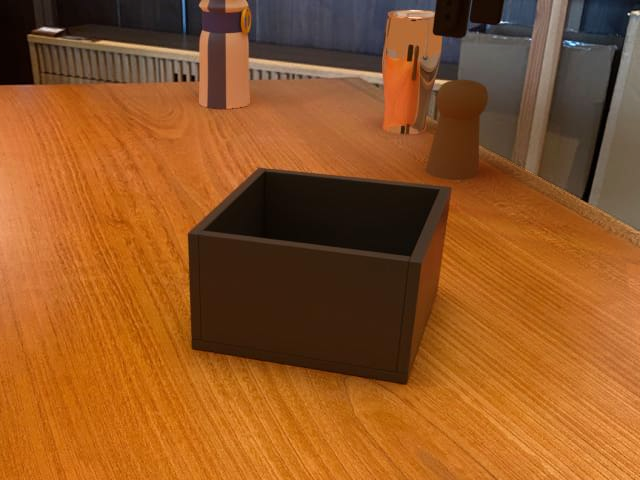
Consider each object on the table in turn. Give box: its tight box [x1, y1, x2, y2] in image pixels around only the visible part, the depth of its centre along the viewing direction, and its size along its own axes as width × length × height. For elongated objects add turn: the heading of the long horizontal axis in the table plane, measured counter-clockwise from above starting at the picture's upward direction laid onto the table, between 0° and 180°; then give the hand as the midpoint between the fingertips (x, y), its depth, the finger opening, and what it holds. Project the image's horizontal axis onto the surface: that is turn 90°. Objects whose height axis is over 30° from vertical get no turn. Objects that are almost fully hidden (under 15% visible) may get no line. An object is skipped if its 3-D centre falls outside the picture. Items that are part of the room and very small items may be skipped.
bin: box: [187, 167, 453, 385], centre depth 63 cm, size 16×16×9 cm
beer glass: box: [381, 9, 443, 135], centre depth 104 cm, size 7×7×15 cm
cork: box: [425, 79, 489, 181], centre depth 89 cm, size 6×6×11 cm
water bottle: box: [198, 0, 252, 110], centre depth 119 cm, size 8×9×25 cm
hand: (467, 29), depth 84 cm, fingers open, 9 cm apart
